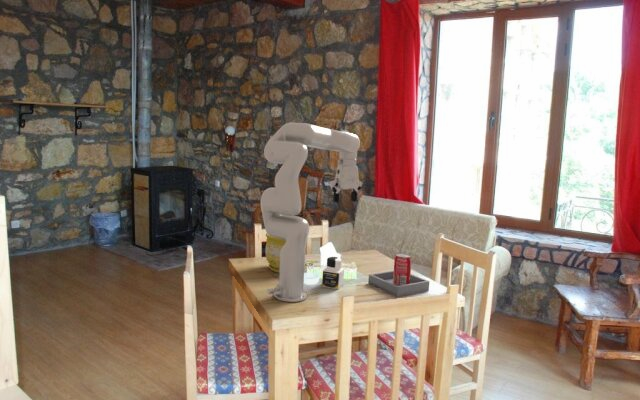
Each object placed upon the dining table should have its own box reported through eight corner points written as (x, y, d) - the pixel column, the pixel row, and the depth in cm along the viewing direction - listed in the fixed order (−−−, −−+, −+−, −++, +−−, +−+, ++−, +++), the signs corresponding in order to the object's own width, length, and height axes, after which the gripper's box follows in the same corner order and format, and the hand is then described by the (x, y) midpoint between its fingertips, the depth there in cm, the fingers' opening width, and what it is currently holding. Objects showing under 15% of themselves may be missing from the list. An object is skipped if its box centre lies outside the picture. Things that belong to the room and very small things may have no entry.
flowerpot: (297, 277, 223) (299, 240, 220) (258, 272, 227) (259, 236, 225) (308, 266, 240) (310, 232, 237) (272, 261, 244) (274, 228, 242)
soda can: (412, 287, 216) (414, 257, 214) (396, 287, 214) (398, 257, 212) (405, 282, 222) (408, 252, 220) (390, 282, 221) (392, 252, 219)
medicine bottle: (321, 286, 213) (323, 258, 211) (327, 282, 219) (329, 254, 217) (338, 289, 210) (339, 261, 208) (343, 284, 217) (345, 257, 215)
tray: (396, 296, 206) (397, 287, 205) (368, 283, 221) (368, 274, 220) (428, 290, 216) (429, 281, 216) (399, 278, 231) (399, 269, 230)
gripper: (336, 163, 215) (334, 204, 217) (368, 163, 224) (365, 202, 227) (326, 161, 221) (324, 201, 223) (357, 161, 231) (355, 199, 233)
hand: (345, 201), depth 225 cm, fingers open, 9 cm apart
